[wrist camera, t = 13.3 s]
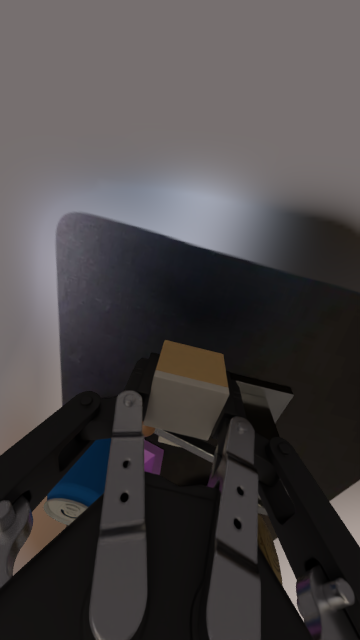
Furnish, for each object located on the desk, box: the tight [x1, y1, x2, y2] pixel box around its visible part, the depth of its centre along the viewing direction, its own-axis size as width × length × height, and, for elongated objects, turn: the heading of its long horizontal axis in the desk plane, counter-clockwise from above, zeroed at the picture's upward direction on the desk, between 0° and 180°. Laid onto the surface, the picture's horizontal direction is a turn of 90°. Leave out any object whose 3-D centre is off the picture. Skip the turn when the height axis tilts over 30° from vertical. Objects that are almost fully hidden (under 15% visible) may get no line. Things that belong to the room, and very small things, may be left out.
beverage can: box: [44, 438, 111, 525], centre depth 26 cm, size 6×6×12 cm
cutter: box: [230, 373, 294, 515], centre depth 22 cm, size 10×8×11 cm
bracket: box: [144, 440, 164, 475], centre depth 33 cm, size 13×6×7 cm, turn 144°
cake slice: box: [143, 340, 229, 440], centre depth 13 cm, size 4×4×4 cm
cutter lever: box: [142, 421, 261, 500], centre depth 20 cm, size 15×3×3 cm, turn 78°
